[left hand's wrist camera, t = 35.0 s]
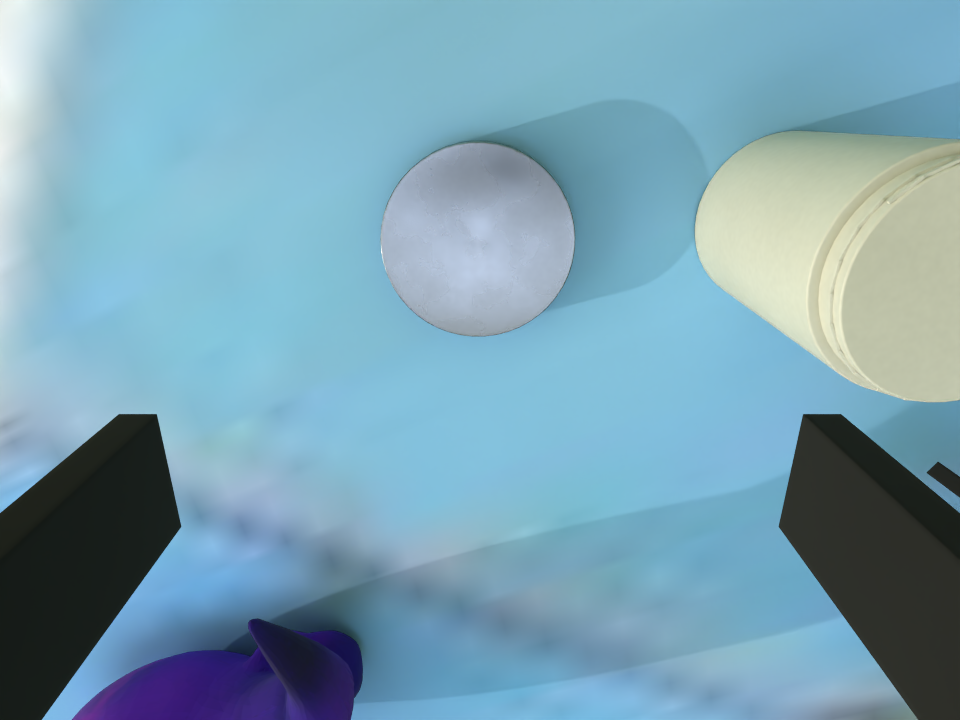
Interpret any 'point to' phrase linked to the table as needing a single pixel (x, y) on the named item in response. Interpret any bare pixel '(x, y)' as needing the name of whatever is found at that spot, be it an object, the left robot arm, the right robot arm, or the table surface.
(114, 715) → the toy
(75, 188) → the table surface
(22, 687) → the left robot arm
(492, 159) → the lid
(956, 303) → the jar
